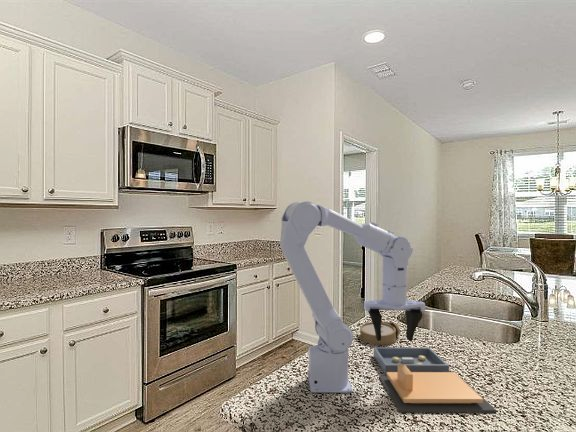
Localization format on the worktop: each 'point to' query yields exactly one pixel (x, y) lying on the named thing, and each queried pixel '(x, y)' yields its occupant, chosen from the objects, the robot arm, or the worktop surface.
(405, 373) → the lid
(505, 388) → the worktop surface
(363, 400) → the worktop surface
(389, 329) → the alarm clock
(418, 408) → the mat
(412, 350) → the blue-grey tray
